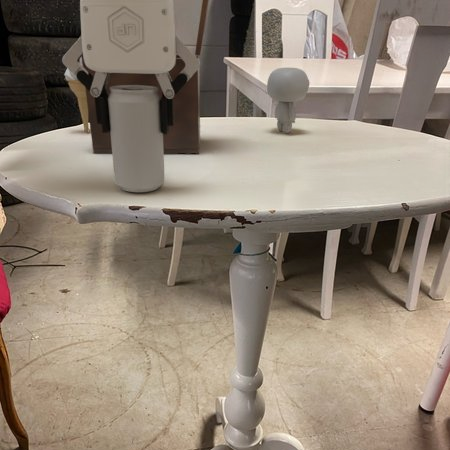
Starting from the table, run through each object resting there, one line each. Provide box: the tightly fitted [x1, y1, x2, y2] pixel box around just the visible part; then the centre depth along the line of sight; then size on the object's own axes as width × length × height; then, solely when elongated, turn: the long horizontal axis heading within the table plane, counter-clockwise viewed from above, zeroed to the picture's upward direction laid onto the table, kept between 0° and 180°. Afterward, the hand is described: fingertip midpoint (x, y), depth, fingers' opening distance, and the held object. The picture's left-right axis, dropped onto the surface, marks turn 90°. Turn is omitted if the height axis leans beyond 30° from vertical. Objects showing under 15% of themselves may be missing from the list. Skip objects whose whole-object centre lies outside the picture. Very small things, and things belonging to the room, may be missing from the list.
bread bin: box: [82, 54, 201, 155], centre depth 80 cm, size 18×13×14 cm
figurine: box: [266, 67, 310, 134], centre depth 94 cm, size 8×8×12 cm
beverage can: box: [107, 85, 166, 193], centre depth 58 cm, size 6×6×12 cm
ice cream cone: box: [63, 56, 90, 133], centre depth 90 cm, size 6×6×15 cm
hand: (136, 130), depth 58 cm, fingers closed on beverage can, 6 cm apart
